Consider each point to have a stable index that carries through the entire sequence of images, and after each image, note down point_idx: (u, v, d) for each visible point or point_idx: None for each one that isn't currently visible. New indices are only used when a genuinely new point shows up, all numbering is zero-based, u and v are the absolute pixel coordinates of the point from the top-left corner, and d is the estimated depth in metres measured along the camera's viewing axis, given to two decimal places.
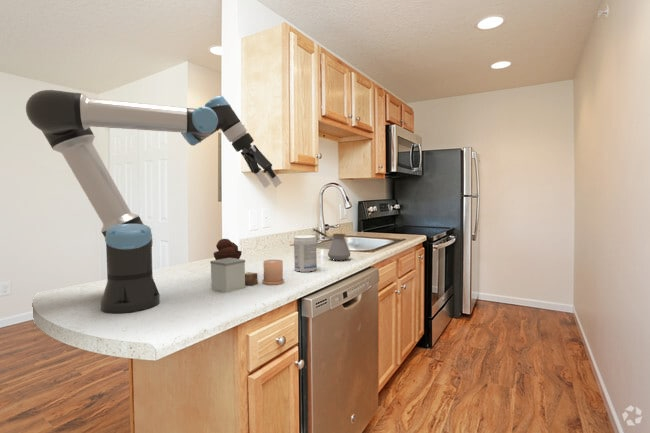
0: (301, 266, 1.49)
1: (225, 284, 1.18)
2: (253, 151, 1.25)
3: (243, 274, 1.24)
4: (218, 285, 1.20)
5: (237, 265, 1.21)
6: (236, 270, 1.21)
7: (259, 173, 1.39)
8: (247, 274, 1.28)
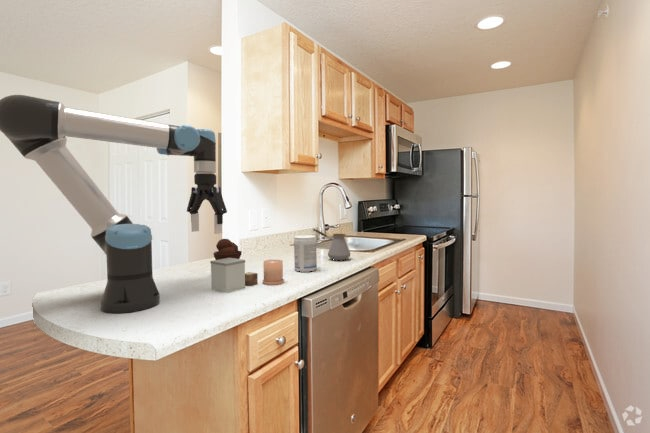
0: (301, 266, 1.49)
1: (225, 284, 1.18)
2: (216, 191, 1.24)
3: (243, 274, 1.24)
4: (218, 285, 1.20)
5: (237, 265, 1.21)
6: (236, 270, 1.21)
7: (195, 215, 1.33)
8: (247, 274, 1.28)
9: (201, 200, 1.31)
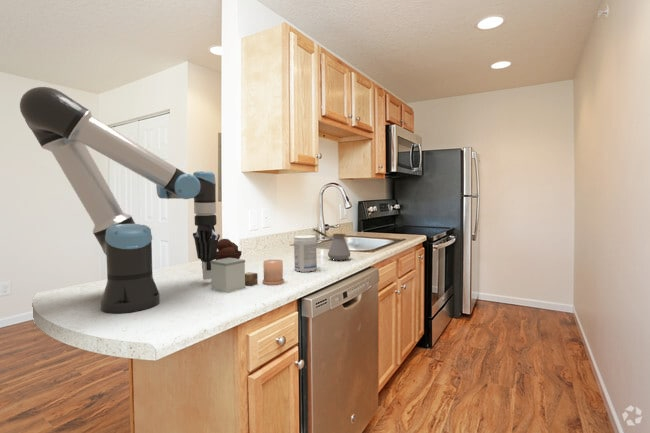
0: (301, 266, 1.49)
1: (225, 284, 1.18)
2: (214, 239, 1.26)
3: (243, 274, 1.24)
4: (218, 285, 1.20)
5: (237, 265, 1.21)
6: (236, 270, 1.21)
7: None
8: (247, 274, 1.28)
9: None
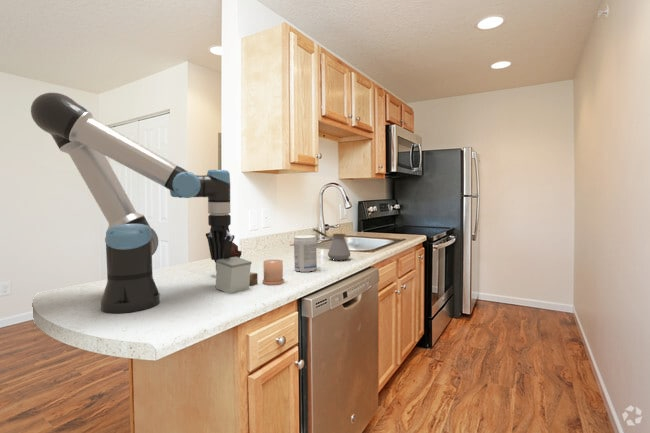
0: (301, 266, 1.49)
1: (229, 285, 1.17)
2: (228, 241, 1.22)
3: (248, 276, 1.23)
4: (222, 285, 1.20)
5: (243, 267, 1.20)
6: (242, 272, 1.20)
7: None
8: None
9: None
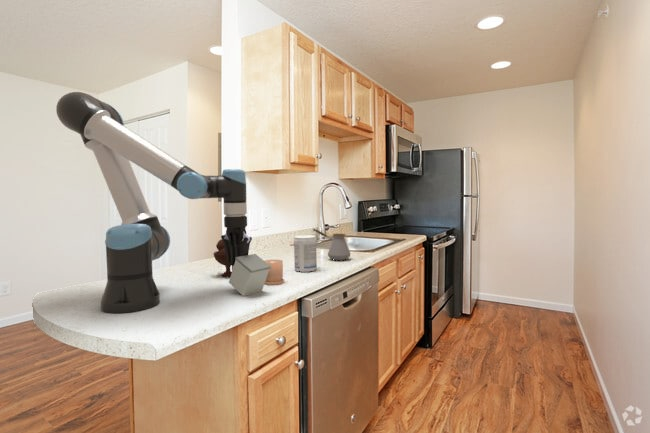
0: (301, 266, 1.49)
1: (244, 288, 1.13)
2: (246, 243, 1.17)
3: (264, 279, 1.18)
4: (237, 284, 1.16)
5: (261, 272, 1.15)
6: (259, 276, 1.15)
7: None
8: None
9: None
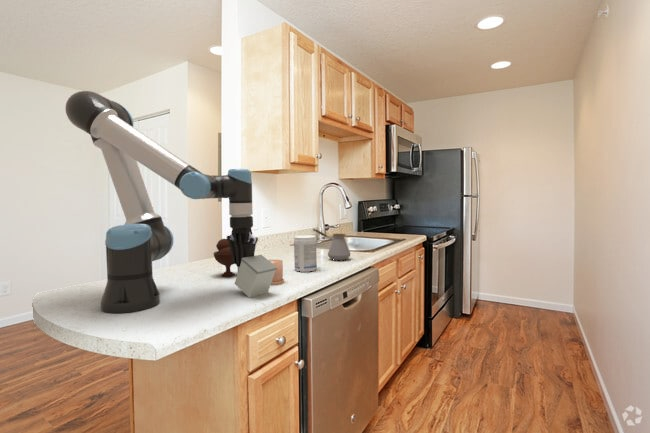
0: (301, 266, 1.49)
1: (250, 289, 1.12)
2: (252, 243, 1.16)
3: (270, 280, 1.17)
4: (243, 285, 1.14)
5: (267, 273, 1.13)
6: (265, 277, 1.14)
7: None
8: None
9: None
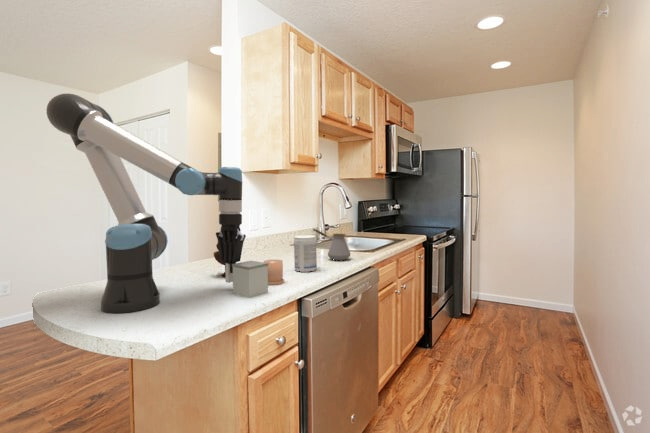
0: (301, 266, 1.49)
1: (248, 289, 1.12)
2: (239, 240, 1.18)
3: (266, 278, 1.18)
4: (240, 290, 1.15)
5: (260, 269, 1.16)
6: (259, 274, 1.15)
7: None
8: None
9: None
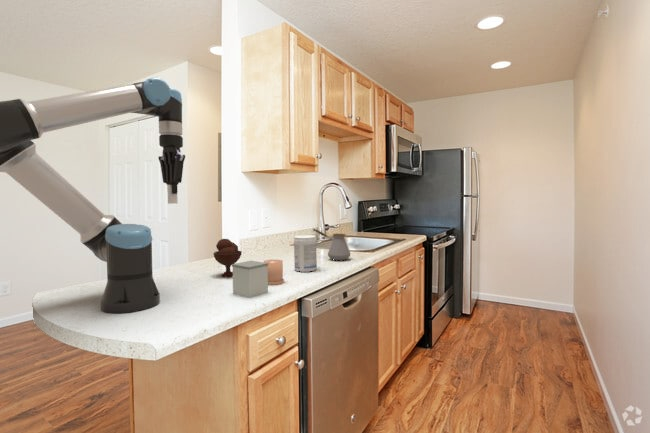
0: (301, 266, 1.49)
1: (248, 288, 1.12)
2: (179, 159, 1.21)
3: (266, 278, 1.18)
4: (240, 290, 1.15)
5: (260, 269, 1.16)
6: (259, 274, 1.15)
7: None
8: None
9: None
